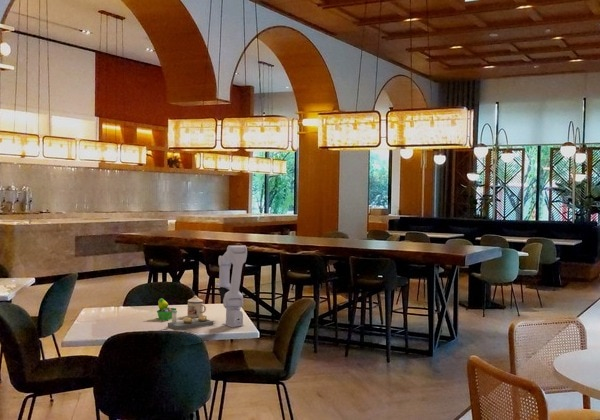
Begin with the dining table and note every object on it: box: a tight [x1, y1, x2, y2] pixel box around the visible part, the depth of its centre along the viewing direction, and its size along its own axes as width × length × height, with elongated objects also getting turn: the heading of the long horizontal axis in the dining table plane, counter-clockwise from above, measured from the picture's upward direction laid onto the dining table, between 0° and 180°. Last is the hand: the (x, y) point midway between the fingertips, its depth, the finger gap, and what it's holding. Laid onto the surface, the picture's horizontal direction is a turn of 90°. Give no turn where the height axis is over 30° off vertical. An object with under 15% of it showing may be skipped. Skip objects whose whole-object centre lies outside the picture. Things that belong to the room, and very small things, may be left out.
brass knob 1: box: [183, 316, 193, 324], centre depth 354 cm, size 4×4×4 cm
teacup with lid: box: [186, 295, 207, 319], centre depth 381 cm, size 12×9×12 cm
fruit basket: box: [156, 297, 177, 321], centre depth 373 cm, size 11×9×11 cm
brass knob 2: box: [197, 315, 208, 322], centre depth 359 cm, size 4×4×4 cm
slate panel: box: [167, 318, 214, 331], centre depth 356 cm, size 10×22×2 cm, turn 130°
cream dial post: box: [171, 309, 178, 324], centre depth 352 cm, size 3×3×7 cm
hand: (223, 300), depth 378 cm, fingers closed
